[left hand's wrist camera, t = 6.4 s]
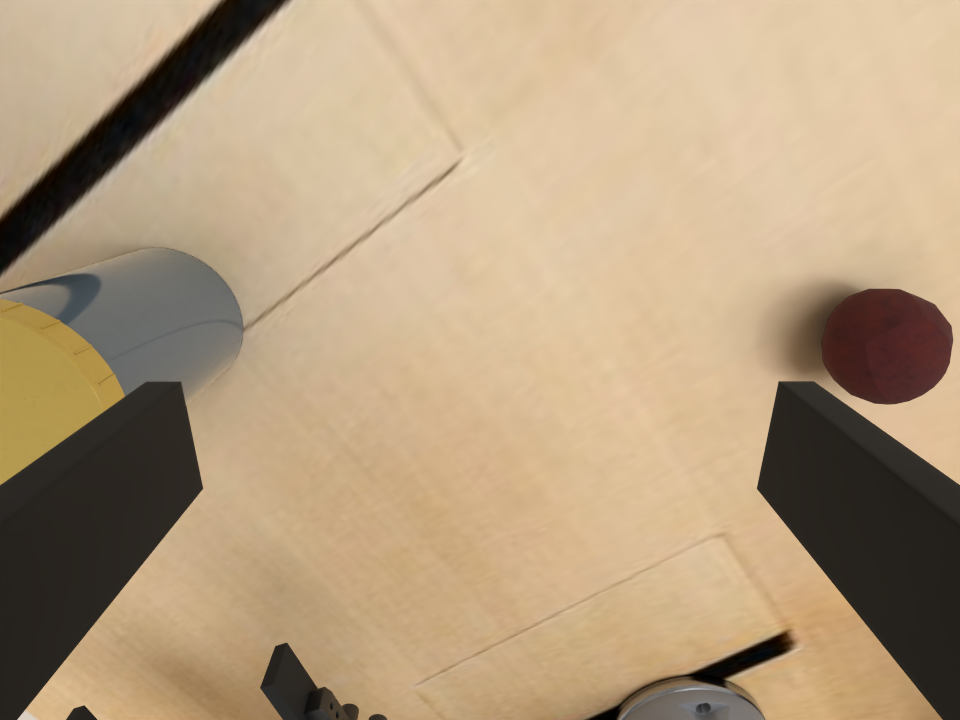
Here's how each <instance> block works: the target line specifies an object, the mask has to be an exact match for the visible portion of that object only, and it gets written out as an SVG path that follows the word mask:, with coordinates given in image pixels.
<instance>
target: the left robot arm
mask: <svg viewBox="0 0 960 720" xmlns="http://www.w3.org/2000/svg"><path fill="white" fill-rule="evenodd" d="M202 489H203V486H202V481H201V476H200V471H199V466H198V461H197V457H196V452H195V447H194V442H193V437H192V432H191V427H190V422H189V417H188V413H187V408H186V403H185V398H184V393H183V388H182V383H181V382H145V383H143V384H142V385H141V386H139V387H138V388H136V389H135V390H134V391H132V392H131V393H129V394H128V395H127V396H125V397H124V398H122V399H121V400H120V401H118V402H117V403H115V404H114V405H112V406H111V407H110V408H108V409H107V410H105V411H104V412H103V413H101V414H100V415H98V416H97V417H96V418H94V419H93V420H91V421H90V422H89V423H87V424H86V425H84V426H83V427H81V428H80V429H79V430H77V431H76V432H74V433H73V434H72V435H70V436H69V437H67V438H66V439H65V440H63V441H62V442H60V443H59V444H58V445H56V446H55V447H53V448H52V449H51V450H49V451H48V452H46V453H45V454H43V455H42V456H41V457H39V458H38V459H36V460H35V461H34V462H32V463H31V464H29V465H28V466H27V467H25V468H24V469H22V470H21V471H20V472H18V473H17V474H15V475H14V476H12V477H11V478H10V479H8V480H7V481H5V482H4V483H3V484H1V485H0V720H17V719H18V718H19V717H20V715H21V714H22V713H23V712H24V710H25V709H26V708H27V707H28V705H29V704H30V703H31V702H32V701H33V699H34V698H35V697H36V696H37V694H38V693H39V692H40V691H41V689H42V688H43V687H44V686H45V684H46V683H47V682H48V681H49V679H50V678H51V677H52V676H53V674H54V673H55V672H56V671H57V669H58V668H59V667H60V666H61V665H62V663H63V662H64V661H65V660H66V658H67V657H68V656H69V655H70V653H71V652H72V651H73V650H74V648H75V647H76V646H77V645H78V643H79V642H80V641H81V640H82V638H83V637H84V636H85V635H86V633H87V632H88V631H89V630H90V628H91V627H92V626H93V625H94V624H95V622H96V621H97V620H98V619H99V617H100V616H101V615H102V614H103V612H104V611H105V610H106V609H107V607H108V606H109V605H110V604H111V602H112V601H113V600H114V599H115V597H116V596H117V595H118V594H119V592H120V591H121V590H122V589H123V587H124V586H125V585H126V584H127V583H128V581H129V580H130V579H131V578H132V576H133V575H134V574H135V573H136V571H137V570H138V569H139V568H140V566H141V565H142V564H143V563H144V561H145V560H146V559H147V558H148V556H149V555H150V554H151V553H152V551H153V550H154V549H155V548H156V546H157V545H158V544H159V543H160V542H161V540H162V539H163V538H164V537H165V535H166V534H167V533H168V532H169V530H170V529H171V528H172V527H173V525H174V524H175V523H176V522H177V520H178V519H179V518H180V517H181V515H182V514H183V513H184V512H185V510H186V509H187V508H188V507H189V506H190V504H191V503H192V502H193V501H194V499H195V498H196V497H197V496H198V494H199V493H200V492H201V491H202ZM757 489H758V491H759V492H760V493H761V494H762V496H763V497H764V498H765V499H766V501H767V502H768V503H769V504H770V506H771V507H772V508H773V509H774V510H775V512H776V513H777V514H778V515H779V517H780V518H781V519H782V520H783V522H784V523H785V524H786V525H787V527H788V528H789V529H790V530H791V532H792V533H793V534H794V535H795V537H796V538H797V539H798V540H799V542H800V543H801V544H802V545H803V546H804V548H805V549H806V550H807V551H808V553H809V554H810V555H811V556H812V558H813V559H814V560H815V561H816V563H817V564H818V565H819V566H820V568H821V569H822V570H823V571H824V573H825V574H826V575H827V576H828V578H829V579H830V580H831V581H832V583H833V584H834V585H835V586H836V587H837V589H838V590H839V591H840V592H841V594H842V595H843V596H844V597H845V599H846V600H847V601H848V602H849V604H850V605H851V606H852V607H853V609H854V610H855V611H856V612H857V614H858V615H859V616H860V617H861V619H862V620H863V621H864V622H865V624H866V625H867V626H868V627H869V628H870V630H871V631H872V632H873V633H874V635H875V636H876V637H877V638H878V640H879V641H880V642H881V643H882V645H883V646H884V647H885V648H886V650H887V651H888V652H889V653H890V655H891V656H892V657H893V658H894V660H895V661H896V662H897V663H898V665H899V666H900V667H901V668H902V669H903V671H904V672H905V673H906V674H907V676H908V677H909V678H910V679H911V681H912V682H913V683H914V684H915V686H916V687H917V688H918V689H919V691H920V692H921V693H922V694H923V696H924V697H925V698H926V699H927V701H928V702H929V703H930V704H931V705H932V707H933V708H934V709H935V710H936V712H937V713H938V714H939V715H940V717H941V718H942V719H943V720H960V485H959V484H957V483H956V482H955V481H953V480H952V479H950V478H949V477H948V476H946V475H945V474H943V473H942V472H940V471H939V470H938V469H936V468H935V467H933V466H932V465H931V464H929V463H928V462H926V461H925V460H924V459H922V458H921V457H919V456H918V455H917V454H915V453H914V452H912V451H911V450H909V449H908V448H907V447H905V446H904V445H902V444H901V443H900V442H898V441H897V440H895V439H894V438H893V437H891V436H890V435H888V434H887V433H886V432H884V431H883V430H881V429H880V428H879V427H877V426H876V425H874V424H873V423H871V422H870V421H869V420H867V419H866V418H864V417H863V416H862V415H860V414H859V413H857V412H856V411H855V410H853V409H852V408H850V407H849V406H848V405H846V404H845V403H843V402H842V401H840V400H839V399H838V398H836V397H835V396H833V395H832V394H831V393H829V392H828V391H826V390H825V389H824V388H822V387H821V386H819V385H818V384H817V383H815V382H779V383H778V388H777V393H776V398H775V403H774V408H773V413H772V417H771V422H770V427H769V432H768V437H767V442H766V447H765V452H764V457H763V461H762V466H761V471H760V476H759V481H758V486H757Z"/></svg>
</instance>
